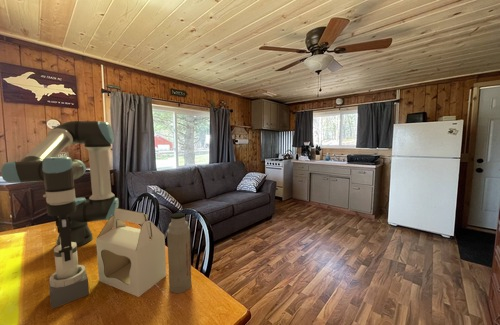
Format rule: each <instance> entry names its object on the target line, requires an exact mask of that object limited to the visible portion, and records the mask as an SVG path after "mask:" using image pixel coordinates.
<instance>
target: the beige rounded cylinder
mask: <svg viewBox="0 0 500 325" xmlns="http://www.w3.org/2000/svg"><path fill="white" fill-rule="evenodd" d="M71 245H72V254H73V265H74V268H71V269H68V270H65V271H63V265H62V255H61V253H59V251H60V250H62V249H61V245H58V246H57V245H56V246H55V247H53V253H54V254H53V255H54V263H55V264H54V265H55V272H56V275H57V280H63V279H67V278H70V277H73V276H75V275H77V274H78V273H79V267H78V265H79V258H78V257H79V256H78V255H79V254H78V247H77V244H76V242H71ZM65 248H66V247H65Z"/></svg>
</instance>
